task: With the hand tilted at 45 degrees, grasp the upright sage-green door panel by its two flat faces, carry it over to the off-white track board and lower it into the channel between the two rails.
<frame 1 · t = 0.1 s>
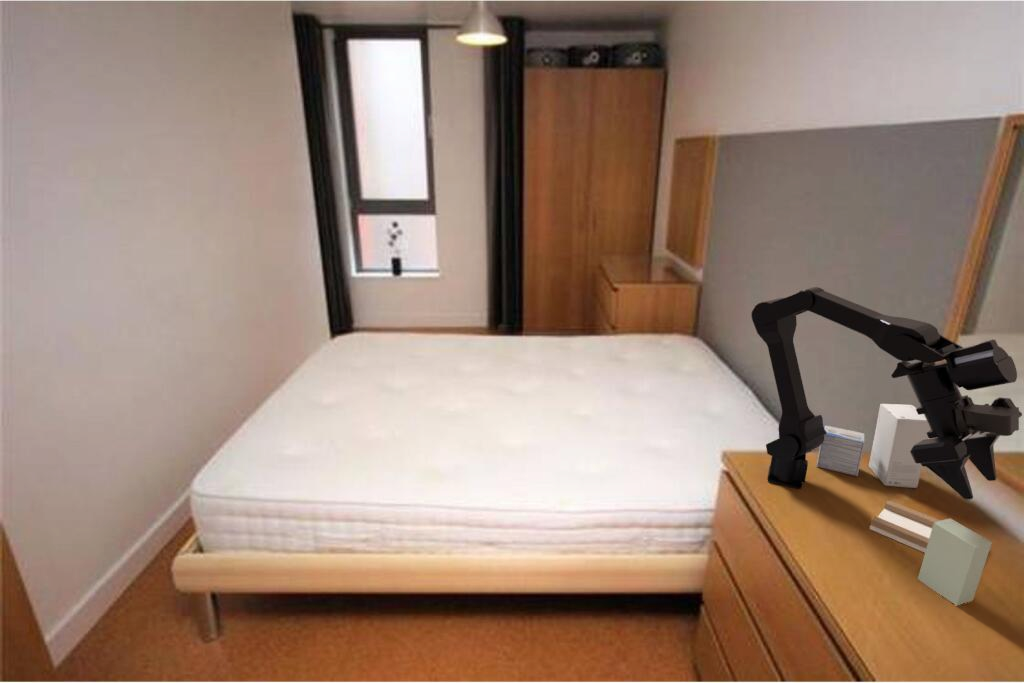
hand: (981, 489, 86), 15 cm above the dresser, tool tilted 35°, fingers open, 9 cm apart
door panel: (944, 589, 85), on the dresser
skincare box: (890, 477, 115), on the dresser
medicine box: (836, 468, 119), on the dresser
track: (922, 535, 97), on the dresser
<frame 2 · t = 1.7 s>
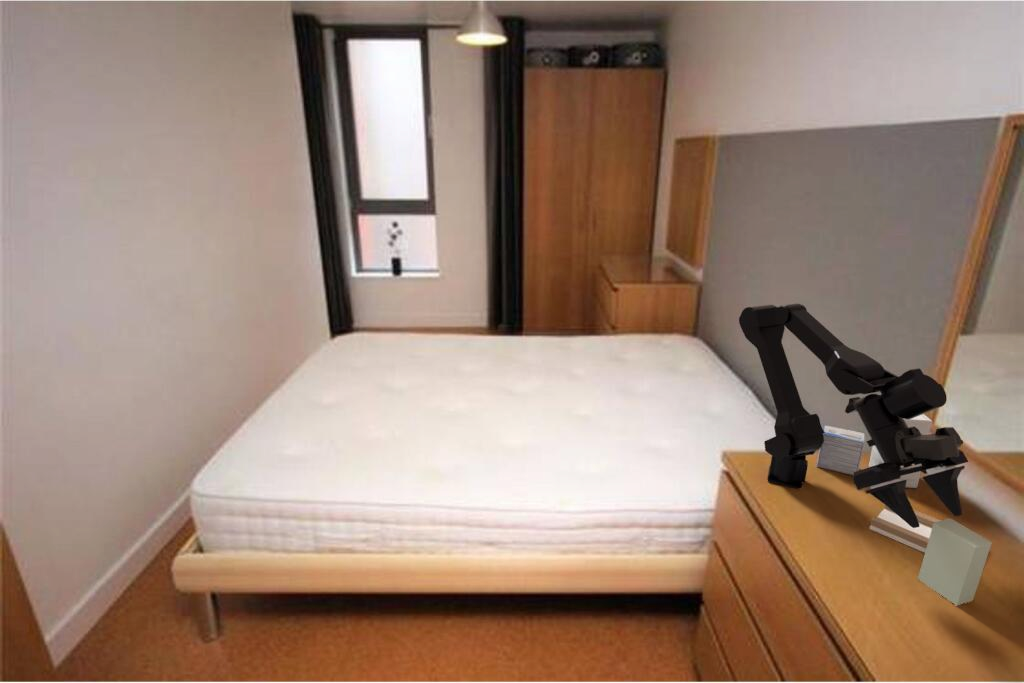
hand: (938, 521, 85), 10 cm above the dresser, tool tilted 45°, fingers open, 9 cm apart
nothing on the dresser moved.
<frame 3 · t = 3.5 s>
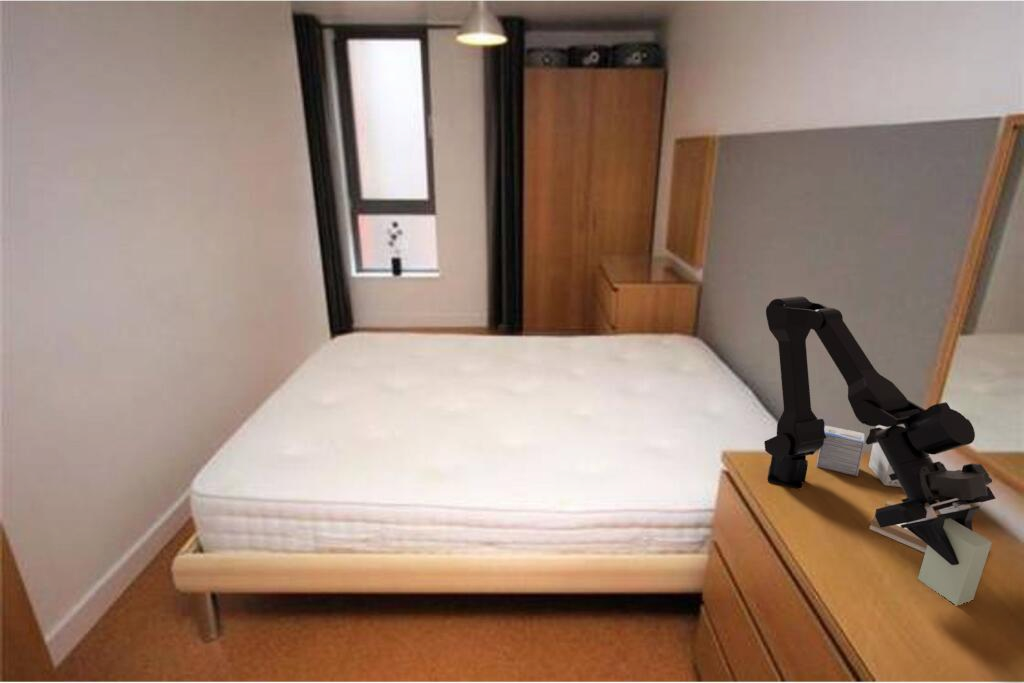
hand: (964, 561, 82), 7 cm above the dresser, tool tilted 45°, fingers closed on door panel, 3 cm apart
door panel: (944, 589, 85), on the dresser, touching gripper
everything else where it was.
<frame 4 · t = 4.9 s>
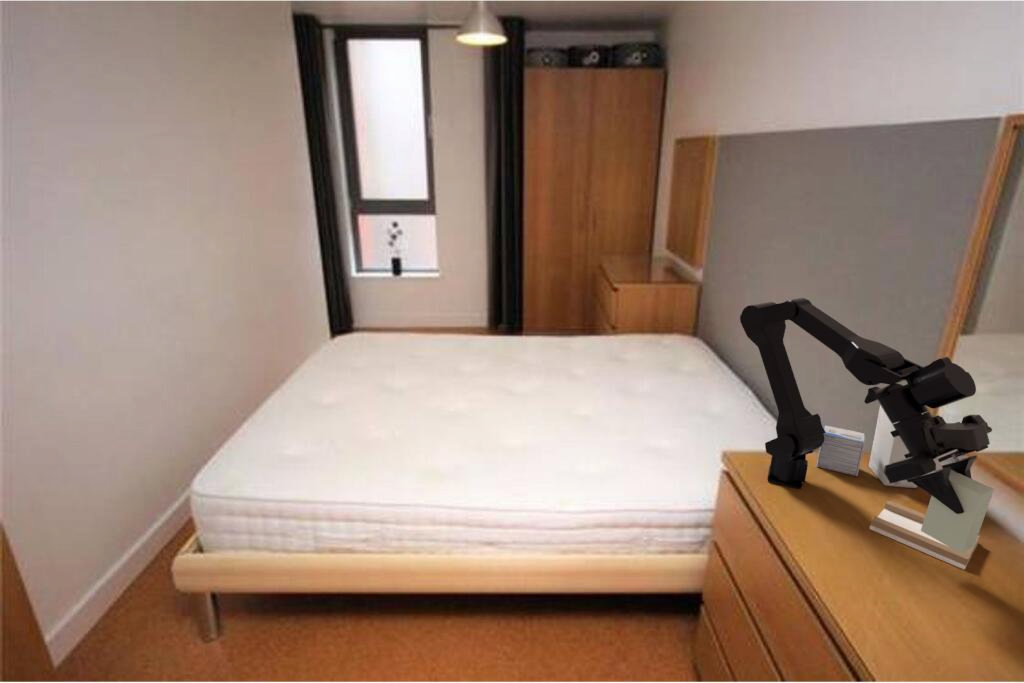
hand: (967, 509, 85), 12 cm above the dresser, tool tilted 45°, fingers closed on door panel, 3 cm apart
door panel: (946, 538, 88), point 6 cm above the dresser, touching gripper
everything else where it was.
when the fingers open (8 cm above the dresser, at t = 6.4 s): door panel drops 1 cm, resting on track.
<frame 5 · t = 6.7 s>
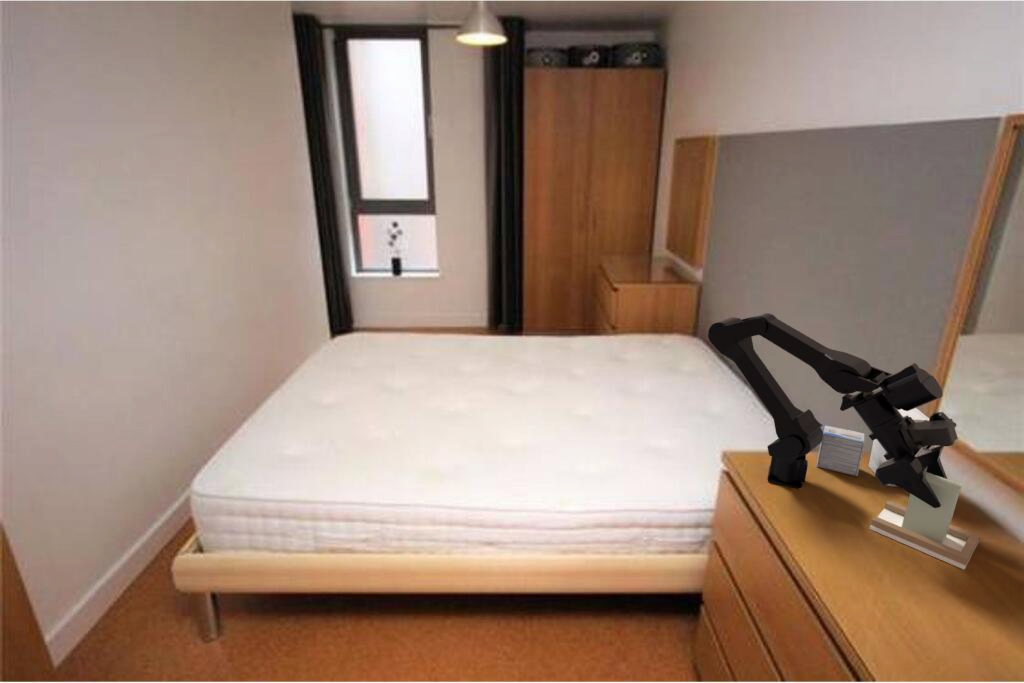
hand: (943, 499, 93), 9 cm above the dresser, tool tilted 45°, fingers open, 7 cm apart
door panel: (923, 532, 97), point 1 cm above the dresser, touching track
everything else where it was.
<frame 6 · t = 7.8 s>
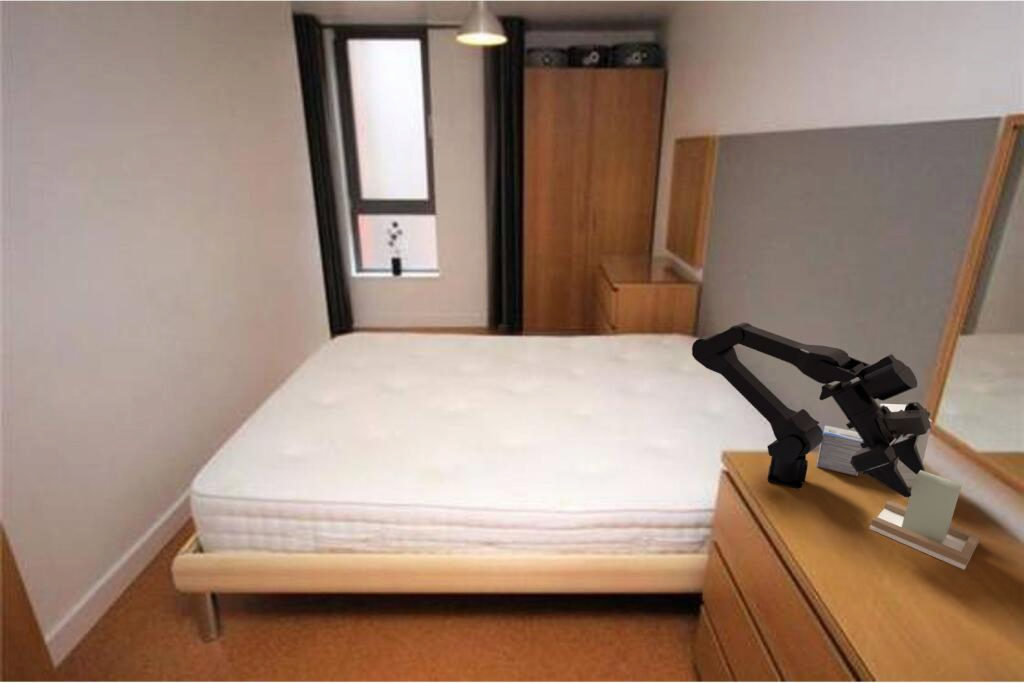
hand: (916, 486, 96), 9 cm above the dresser, tool tilted 45°, fingers open, 9 cm apart
nothing on the dresser moved.
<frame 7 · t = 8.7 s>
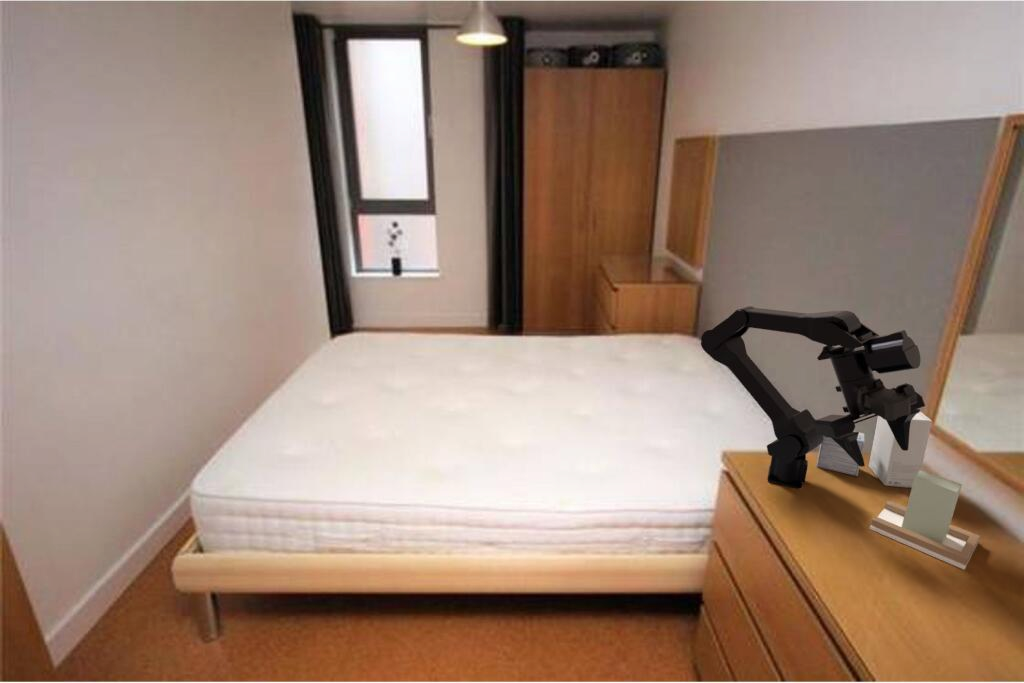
hand: (883, 458, 99), 13 cm above the dresser, tool tilted 25°, fingers open, 9 cm apart
nothing on the dresser moved.
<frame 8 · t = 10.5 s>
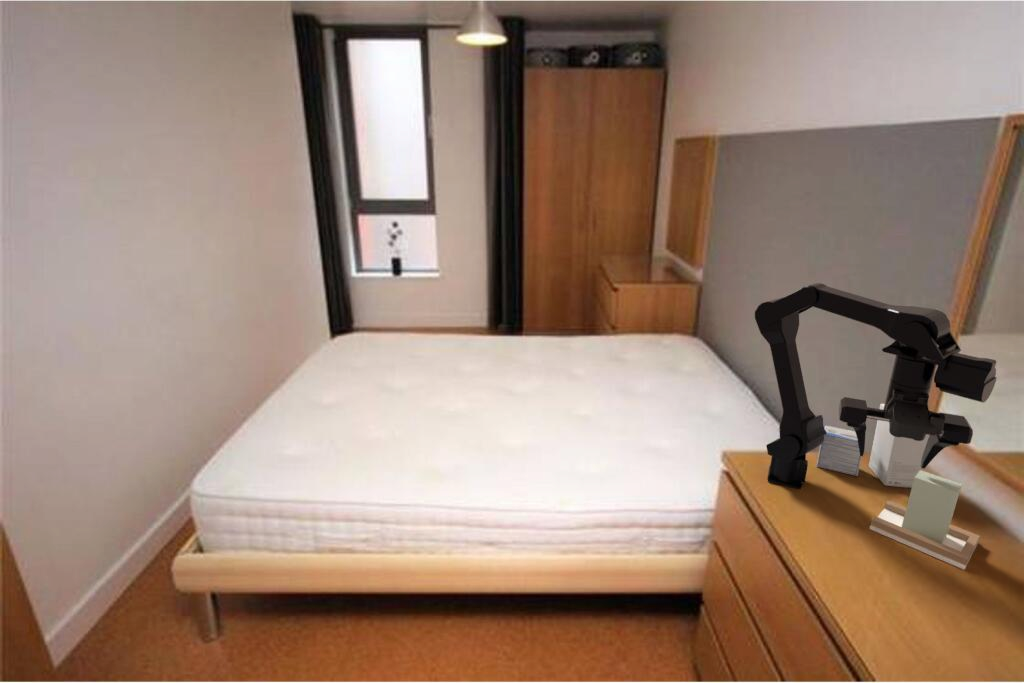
hand: (891, 461, 97), 13 cm above the dresser, tool pointing down, fingers open, 9 cm apart
nothing on the dresser moved.
at the end: door panel 0.0 cm from the track (horizontally); door panel point 0.6 cm above the dresser; door panel tilted 0° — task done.
